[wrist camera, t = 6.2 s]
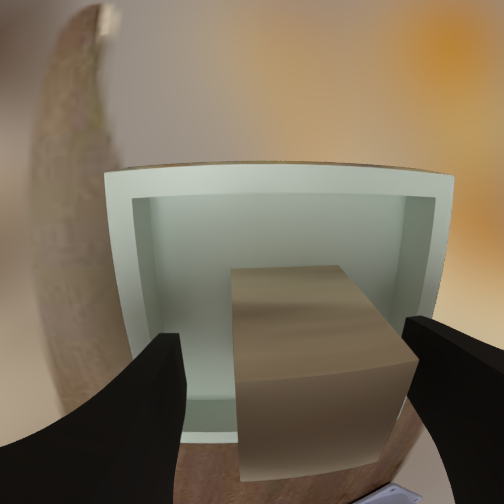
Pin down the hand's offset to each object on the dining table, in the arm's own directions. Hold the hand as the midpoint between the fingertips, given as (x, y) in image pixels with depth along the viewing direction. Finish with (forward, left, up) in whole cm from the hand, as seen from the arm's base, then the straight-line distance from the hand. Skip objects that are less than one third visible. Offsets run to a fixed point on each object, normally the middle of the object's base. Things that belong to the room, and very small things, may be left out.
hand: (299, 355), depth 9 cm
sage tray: (0, 0, -3) cm, 3 cm away
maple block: (0, 0, -3) cm, 3 cm away
